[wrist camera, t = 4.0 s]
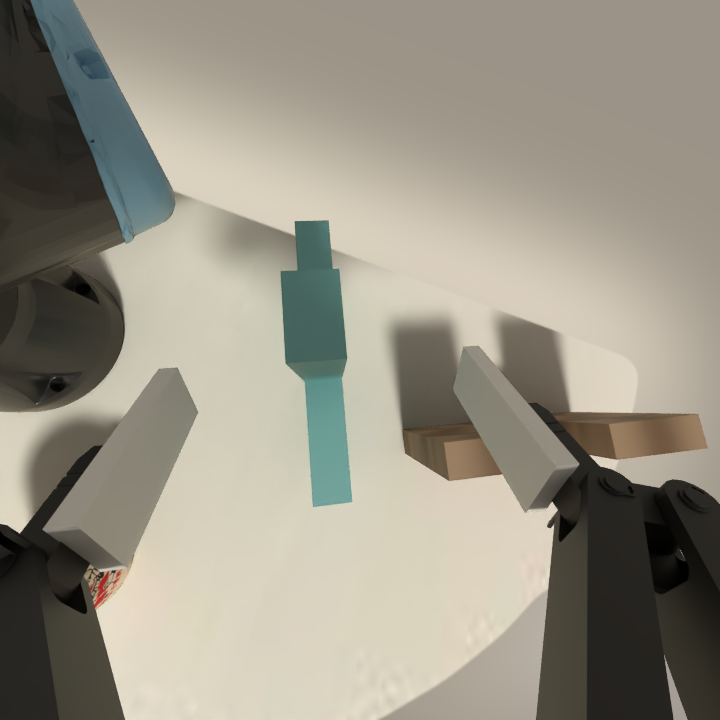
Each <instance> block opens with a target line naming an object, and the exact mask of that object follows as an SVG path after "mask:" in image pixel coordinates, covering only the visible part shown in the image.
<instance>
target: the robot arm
mask: <svg viewBox="0 0 720 720" xmlns="http://www.w3.org/2000/svg"><path fill="white" fill-rule="evenodd" d="M174 207H175V195H174V192H173V189H172V187H171V185H170V183H169V181H168V179H167V177H166V176H165V173H164V172H163V170H162V168H161V166H160V164H159V162H158V160H157V158H156V156H155V155H154V153H153V150H152V149H151V147H150V145H149V143H148V141H147V139H146V137H145V135H144V133H143V131H142V130H141V128H140V126H139V124H138V122H137V120H136V118H135V116H134V114H133V113H132V111H131V109H130V107H129V105H128V103H127V101H126V99H125V97H124V96H123V94H122V92H121V90H120V88H119V86H118V84H117V82H116V80H115V78H114V76H113V75H112V73H111V71H110V69H109V67H108V65H107V63H106V62H105V59H104V57H103V55H102V54H101V52H100V50H99V48H98V46H97V44H96V42H95V40H94V38H93V37H92V35H91V33H90V31H89V29H88V27H87V25H86V23H85V21H84V20H83V18H82V16H81V14H80V12H79V10H78V8H77V7H76V5H75V3H74V1H73V0H0V412H39V411H46V410H51V409H55V408H59V407H62V406H65V405H67V404H69V403H72V402H74V401H76V400H78V399H79V398H81V397H83V396H84V395H86V394H87V393H89V392H90V391H91V390H92V389H94V388H95V387H96V386H97V385H98V384H99V383H100V382H101V381H102V380H103V379H104V378H105V377H106V375H107V374H108V373H109V371H110V370H111V368H112V367H113V365H114V363H115V361H116V359H117V357H118V355H119V352H120V349H121V346H122V341H123V319H122V315H121V312H120V309H119V306H118V304H117V302H116V301H115V299H114V297H113V296H112V295H111V293H110V292H109V291H108V290H107V289H106V288H105V287H104V286H103V285H102V284H100V283H99V282H98V281H96V280H94V279H93V278H91V277H89V276H87V275H85V274H83V273H82V272H80V271H78V270H76V269H74V268H72V267H70V266H67V265H70V264H72V263H74V262H77V261H79V260H82V259H84V258H87V257H89V256H92V255H94V254H97V253H99V252H101V251H104V250H106V249H109V248H111V247H114V246H116V245H119V244H121V243H124V242H125V243H130V241H132V240H133V239H134V236H136V235H138V234H140V233H142V232H144V231H146V230H148V229H150V228H152V227H154V226H156V225H159V224H161V223H163V222H165V221H166V220H167V219H168V218H169V217H170V216H171V215H172V213H173V210H174ZM453 391H454V392H455V394H456V396H457V398H458V399H459V401H460V403H461V404H462V406H463V408H464V409H465V411H466V413H467V415H468V416H469V418H470V420H471V421H472V423H473V425H474V427H475V428H476V430H477V432H478V433H479V435H480V437H481V438H482V440H483V442H484V444H485V445H486V447H487V449H488V450H489V452H490V454H491V455H492V457H493V459H494V461H495V462H496V464H497V466H498V467H499V469H500V471H501V472H502V474H503V476H504V478H505V479H506V481H507V483H508V484H509V486H510V488H511V490H512V491H513V493H514V495H515V496H516V498H517V500H518V501H519V503H520V505H521V507H522V508H523V510H524V512H525V513H531V512H538V511H545V510H546V509H547V508H548V506H549V505H550V503H551V502H553V503H554V505H555V506H556V508H557V509H558V511H557V512H556V513H555V515H554V516H553V517H552V519H551V520H550V521H549V523H548V525H547V527H548V528H551V527H552V526H553V525H554V535H553V546H552V556H551V567H550V577H549V588H548V599H547V609H546V620H545V632H544V641H543V652H542V663H541V673H540V684H539V694H538V705H537V716H536V720H673V713H672V706H671V700H670V693H669V686H668V680H667V673H666V666H665V659H664V655H665V658H666V661H667V664H668V667H669V669H670V672H671V675H672V677H673V680H674V683H675V686H676V689H677V691H678V694H679V697H680V700H681V702H682V705H683V708H684V710H685V713H686V716H687V719H688V720H720V504H719V503H718V502H717V501H716V500H715V499H714V498H713V497H712V496H710V495H709V494H708V493H707V492H705V491H704V490H702V489H700V488H699V487H697V486H695V485H693V484H690V483H688V482H685V481H682V480H669V481H666V482H665V483H664V484H663V485H662V486H661V487H660V488H656V487H651V486H645V485H640V484H634V483H631V482H630V481H629V480H628V479H627V478H625V477H624V476H623V475H621V474H620V473H618V472H616V471H614V470H611V469H608V468H604V467H600V466H599V465H598V464H597V463H596V462H595V461H594V460H593V459H592V458H591V457H590V456H589V454H588V453H587V452H586V451H585V450H584V449H583V448H582V447H581V446H580V445H579V443H578V442H577V441H576V440H575V439H574V438H573V437H572V436H571V435H570V434H569V433H568V432H566V429H565V428H564V427H563V426H562V425H561V424H559V422H558V420H557V419H556V418H555V417H554V416H553V415H552V414H551V413H550V412H549V411H548V410H546V409H545V408H543V407H542V406H540V405H539V404H537V403H529V404H528V403H527V402H526V401H525V399H524V398H523V397H522V396H521V395H520V394H519V392H518V391H517V390H516V389H515V388H514V387H513V385H512V384H511V383H510V382H509V381H508V380H507V378H506V377H505V376H504V375H503V374H502V373H501V371H500V370H499V369H498V368H497V367H496V366H495V364H494V363H493V362H492V361H491V360H490V359H489V357H488V356H487V355H486V354H485V353H484V352H483V350H482V349H481V348H480V347H479V346H469V347H463V351H462V355H461V359H460V363H459V367H458V371H457V375H456V379H455V383H454V387H453ZM197 414H198V411H197V409H196V406H195V404H194V402H193V400H192V398H191V396H190V394H189V391H188V389H187V387H186V385H185V383H184V381H183V378H182V376H181V374H180V372H179V370H178V368H165V369H159V370H158V371H157V372H156V374H155V375H154V376H153V378H152V379H151V381H150V382H149V383H148V385H147V386H146V387H145V389H144V390H143V392H142V393H141V394H140V396H139V397H138V398H137V400H136V401H135V403H134V404H133V405H132V407H131V408H130V409H129V411H128V412H127V414H126V415H125V416H124V418H123V419H122V420H121V422H120V423H119V425H118V426H117V427H116V429H115V430H114V431H113V433H112V434H111V436H110V437H109V438H108V440H107V441H106V443H105V444H104V445H101V446H94V447H92V448H91V449H90V450H89V451H87V452H86V453H85V454H84V455H82V456H81V457H80V458H79V459H78V460H77V461H76V462H75V464H74V465H73V466H72V467H71V469H70V470H69V471H68V473H67V476H66V477H64V478H63V479H62V480H61V482H60V483H59V484H58V485H57V489H54V491H53V492H52V493H51V494H50V496H49V497H48V498H47V500H46V501H45V502H44V503H43V505H42V506H41V507H40V509H39V510H38V511H37V512H36V514H35V515H34V516H33V518H32V519H31V520H30V521H29V523H28V524H27V525H26V527H25V528H24V529H23V530H22V532H21V533H20V534H19V533H18V532H16V531H15V530H13V529H12V528H10V527H9V526H7V525H3V524H0V720H125V718H124V714H123V711H122V707H121V703H120V699H119V696H118V692H117V688H116V684H115V681H114V677H113V673H112V669H111V666H110V662H109V658H108V655H107V651H106V647H105V643H104V640H103V636H102V632H101V628H100V625H99V621H98V617H97V614H96V610H95V606H94V602H93V599H92V595H91V591H90V587H89V584H88V581H87V580H86V579H85V577H83V576H84V574H85V573H86V571H87V569H88V567H89V565H92V566H93V567H94V568H96V569H97V570H98V571H100V572H104V571H111V570H119V569H126V568H128V566H129V564H130V562H131V559H132V557H133V555H134V553H135V551H136V548H137V546H138V544H139V542H140V540H141V537H142V535H143V533H144V531H145V529H146V526H147V524H148V522H149V520H150V517H151V515H152V513H153V511H154V509H155V506H156V504H157V502H158V500H159V498H160V495H161V493H162V491H163V489H164V487H165V484H166V482H167V480H168V478H169V475H170V473H171V471H172V469H173V467H174V464H175V462H176V460H177V458H178V456H179V453H180V451H181V449H182V447H183V445H184V442H185V440H186V438H187V436H188V433H189V431H190V429H191V427H192V425H193V422H194V420H195V418H196V416H197ZM554 523H555V524H554ZM680 550H681V551H680ZM681 552H682V553H681ZM682 554H683V555H682ZM683 556H684V557H683Z"/></svg>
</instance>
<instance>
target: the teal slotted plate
mask: <svg viewBox="0 0 720 720" xmlns="http://www.w3.org/2000/svg"><path fill="white" fill-rule="evenodd" d="M295 233H296V249H297V264H298V271H281V286H282V304H283V323H284V342H285V360H286V364H287V365H288V366H289V367H290V368H291V369H292V370H293V371H294V372H295V373H296V374H297V375H298V376H299V377H301V378H302V379H303V380H304V381H305V389H306V405H307V420H308V436H309V452H310V467H311V483H312V498H313V507H317V506H325V505H333V504H340V503H348V502H352V494H351V482H350V470H349V458H348V446H347V434H346V423H345V411H344V399H343V387H342V376H343V372H344V368H345V365H346V361H347V352H346V341H345V330H344V318H343V307H342V296H341V284H340V273H339V269H332V257H331V245H330V233H329V221H295Z"/></svg>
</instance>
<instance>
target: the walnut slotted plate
mask: <svg viewBox="0 0 720 720" xmlns="http://www.w3.org/2000/svg"><path fill="white" fill-rule="evenodd" d="M552 415H553V416H554V417H555V418H556V419H557V420H558V422H559V424H561V425H562V426H563V427H564V428H565V429H566V432H568V433H569V434H570V435H571V436H572V437H573V438H574V439H575V440H576V441H577V442H578V443H579V445H580V446H581V447H582V448H583V449H584V450H585V451H586V452H587V453H588V454H589V455H594V456H599V457H605V458H610V459H616V460H618V459H626V458H634V457H642V456H650V455H658V454H665V453H674V452H681V451H689V450H697V449H705V448H707V444H706V440H705V437H704V433H703V430H702V426H701V422H700V419H699V415H698V414H658V413H592V412H567V413H558V414H552ZM403 437H404V445H405V454H407V455H409V456H410V457H412V458H413V459H415V460H417V461H418V462H420V463H421V464H423V465H425V466H426V467H428V468H429V469H431V470H433V471H434V472H436V473H437V474H439V475H441V476H442V477H444V478H445V479H447V480H449V481H453V480H461V479H469V478H476V477H484V476H492V475H500V474H502V472H501V471H500V469H499V467H498V466H497V464H496V462H495V461H494V459H493V457H492V455H491V454H490V452H489V450H488V449H487V447H486V445H485V444H484V442H483V440H482V438H481V437H480V435H479V433H478V432H477V430H476V428H475V427H474V425H473V423H463V424H454V425H444V426H435V427H425V428H416V429H406V430H403Z"/></svg>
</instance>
